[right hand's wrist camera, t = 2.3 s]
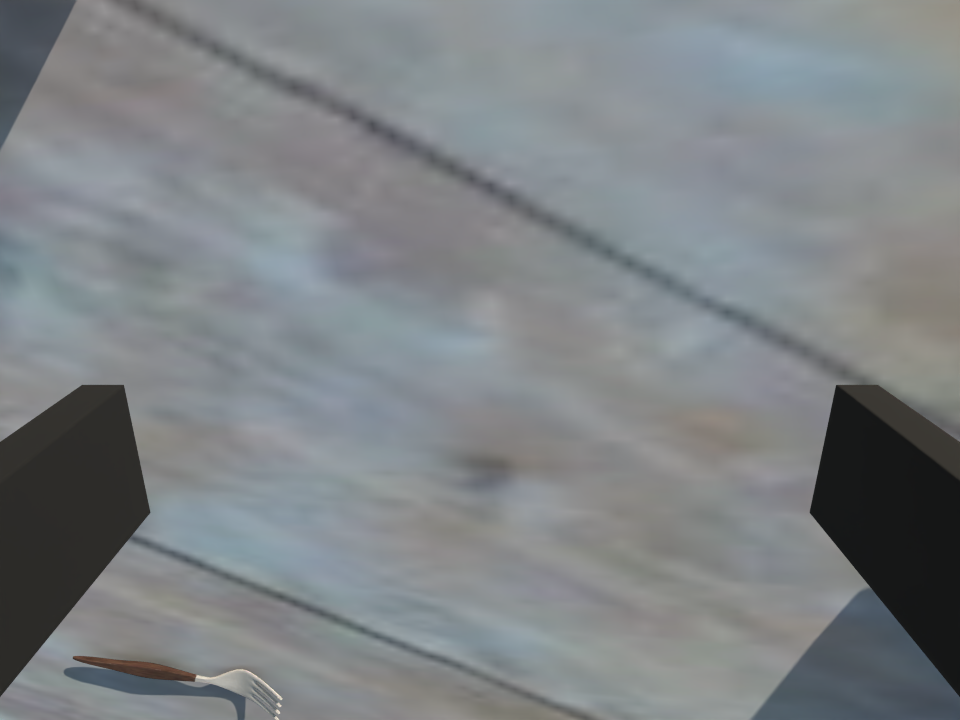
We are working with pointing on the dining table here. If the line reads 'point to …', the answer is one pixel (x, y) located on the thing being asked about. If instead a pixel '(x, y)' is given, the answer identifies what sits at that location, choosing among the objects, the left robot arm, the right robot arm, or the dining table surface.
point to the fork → (192, 678)
